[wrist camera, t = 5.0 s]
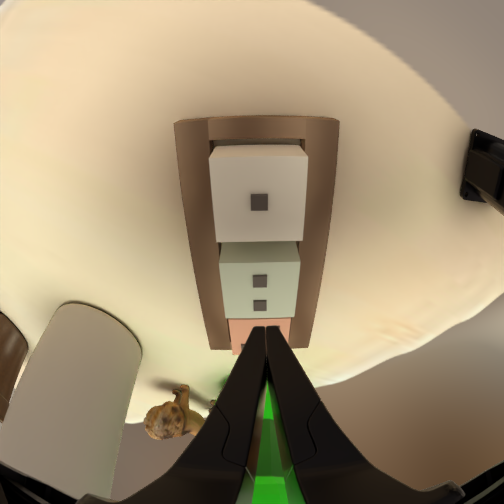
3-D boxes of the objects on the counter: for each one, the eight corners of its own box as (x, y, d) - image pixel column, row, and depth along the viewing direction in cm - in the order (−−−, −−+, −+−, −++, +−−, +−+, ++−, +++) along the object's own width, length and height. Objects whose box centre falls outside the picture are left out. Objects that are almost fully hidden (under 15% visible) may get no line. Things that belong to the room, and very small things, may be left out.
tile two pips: (294, 236, 19) (301, 263, 16) (290, 289, 22) (294, 319, 19) (223, 237, 19) (218, 265, 16) (228, 291, 22) (225, 320, 19)
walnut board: (332, 118, 16) (339, 120, 14) (306, 336, 28) (308, 347, 26) (179, 120, 16) (173, 123, 15) (212, 338, 28) (210, 349, 27)
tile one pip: (298, 145, 15) (308, 157, 13) (295, 217, 18) (303, 242, 16) (216, 146, 16) (208, 159, 13) (221, 218, 18) (216, 244, 16)
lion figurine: (146, 382, 35) (134, 435, 27) (164, 372, 33) (152, 432, 25) (221, 414, 41) (218, 460, 33) (242, 407, 38) (241, 457, 31)
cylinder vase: (143, 373, 33) (113, 536, 12) (67, 347, 31) (18, 492, 10) (143, 319, 26) (90, 551, 6) (48, 287, 24) (-37, 474, 4)
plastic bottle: (218, 363, 31) (206, 564, 10) (300, 372, 32) (317, 557, 11) (210, 396, 36) (200, 550, 15) (278, 403, 37) (284, 549, 17)
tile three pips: (287, 293, 24) (291, 320, 21) (284, 329, 27) (286, 355, 24) (230, 294, 24) (228, 321, 21) (234, 330, 27) (232, 356, 24)
